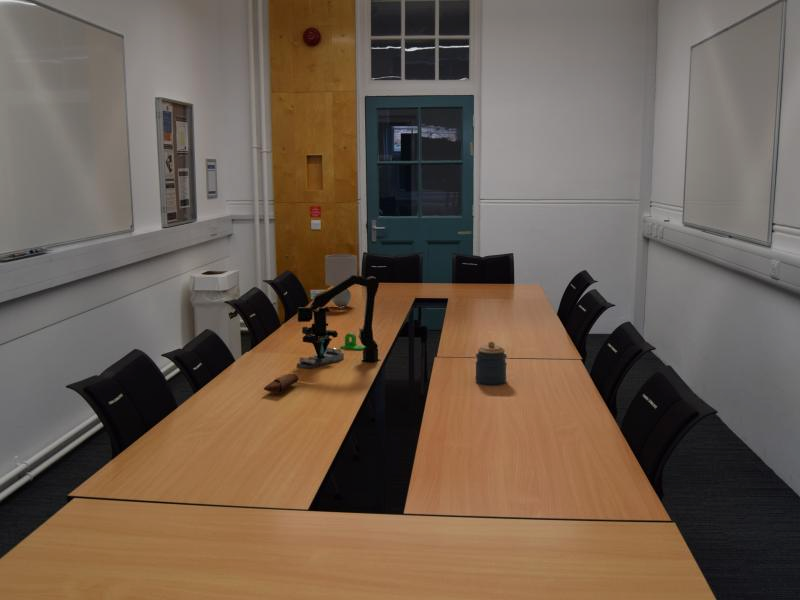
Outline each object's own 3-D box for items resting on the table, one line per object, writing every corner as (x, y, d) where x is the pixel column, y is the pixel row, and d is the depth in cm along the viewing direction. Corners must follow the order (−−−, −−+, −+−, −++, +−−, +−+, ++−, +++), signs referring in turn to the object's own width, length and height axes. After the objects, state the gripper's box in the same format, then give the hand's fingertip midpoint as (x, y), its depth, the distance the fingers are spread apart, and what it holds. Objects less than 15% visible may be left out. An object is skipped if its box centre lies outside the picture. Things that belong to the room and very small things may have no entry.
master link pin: (326, 358, 375) (326, 339, 374) (321, 360, 372) (320, 341, 370) (320, 357, 377) (319, 338, 376) (314, 359, 374) (314, 340, 373)
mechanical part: (340, 350, 404) (340, 334, 403) (347, 347, 409) (346, 332, 408) (360, 352, 398) (360, 336, 397) (367, 350, 403) (367, 334, 402)
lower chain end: (332, 362, 376) (332, 354, 375) (310, 369, 363) (310, 360, 362) (319, 360, 380) (319, 352, 380) (296, 366, 367) (296, 358, 367)
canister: (474, 386, 334) (475, 344, 331) (475, 378, 346) (476, 338, 344) (506, 387, 332) (507, 345, 329) (506, 379, 345) (507, 338, 342)
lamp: (362, 311, 518) (362, 256, 513) (334, 314, 507) (334, 258, 502) (347, 307, 535) (347, 253, 529) (320, 309, 524) (319, 255, 519)
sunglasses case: (279, 378, 340) (288, 366, 338) (292, 389, 340) (300, 377, 338) (262, 389, 323) (271, 377, 321) (275, 400, 322) (284, 388, 321)
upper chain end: (343, 359, 382) (343, 348, 382) (321, 365, 369) (321, 354, 369) (330, 357, 387) (330, 346, 386) (308, 363, 374) (308, 352, 373)
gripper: (319, 316, 384) (320, 349, 386) (293, 322, 369) (294, 356, 371) (338, 319, 378) (338, 351, 380) (311, 325, 363) (312, 359, 365)
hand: (320, 354), depth 374 cm, fingers closed on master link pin, 3 cm apart
